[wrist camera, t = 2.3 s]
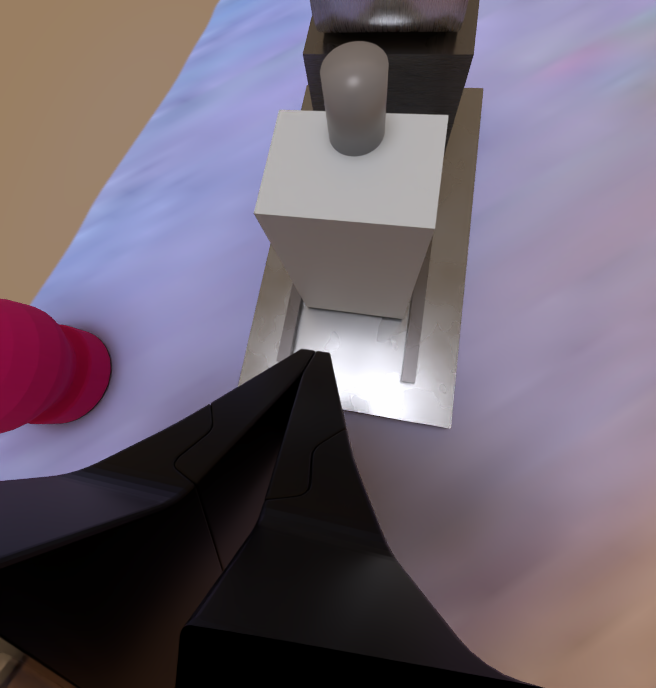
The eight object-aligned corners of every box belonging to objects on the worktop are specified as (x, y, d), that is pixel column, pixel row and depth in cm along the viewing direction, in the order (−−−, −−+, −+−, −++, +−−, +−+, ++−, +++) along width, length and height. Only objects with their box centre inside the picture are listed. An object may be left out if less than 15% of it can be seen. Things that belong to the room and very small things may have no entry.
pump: (402, 319, 18) (452, 179, 7) (306, 306, 19) (227, 165, 8) (411, 252, 19) (468, 40, 8) (318, 243, 20) (260, 41, 9)
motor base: (445, 427, 18) (575, 448, 7) (244, 392, 20) (81, 361, 9) (477, 105, 22) (588, -213, 11) (309, 101, 24) (258, -175, 13)
